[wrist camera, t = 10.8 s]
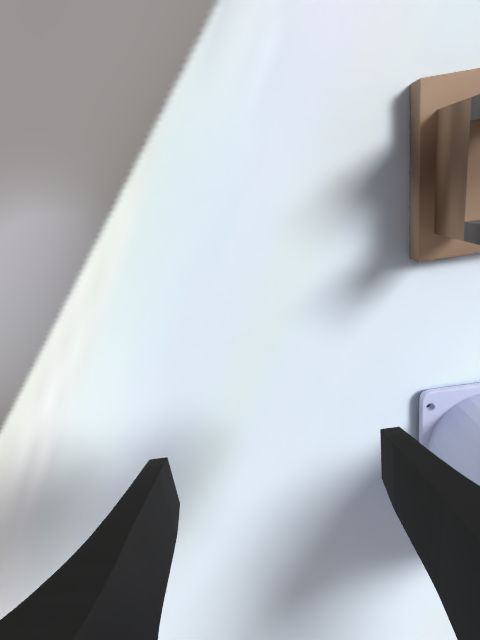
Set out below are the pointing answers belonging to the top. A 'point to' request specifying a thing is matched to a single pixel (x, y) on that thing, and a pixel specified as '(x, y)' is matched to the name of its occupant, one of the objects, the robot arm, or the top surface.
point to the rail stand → (445, 166)
